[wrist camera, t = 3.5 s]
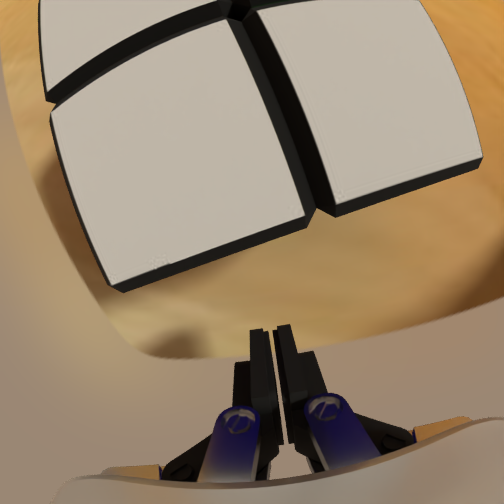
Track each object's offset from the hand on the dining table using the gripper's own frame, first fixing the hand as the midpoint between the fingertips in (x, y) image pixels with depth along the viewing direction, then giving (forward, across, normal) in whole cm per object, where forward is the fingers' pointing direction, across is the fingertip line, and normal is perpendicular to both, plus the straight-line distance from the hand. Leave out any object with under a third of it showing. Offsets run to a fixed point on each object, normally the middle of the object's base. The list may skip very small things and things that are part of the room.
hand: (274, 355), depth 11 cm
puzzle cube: (+6, -1, -11) cm, 13 cm away
